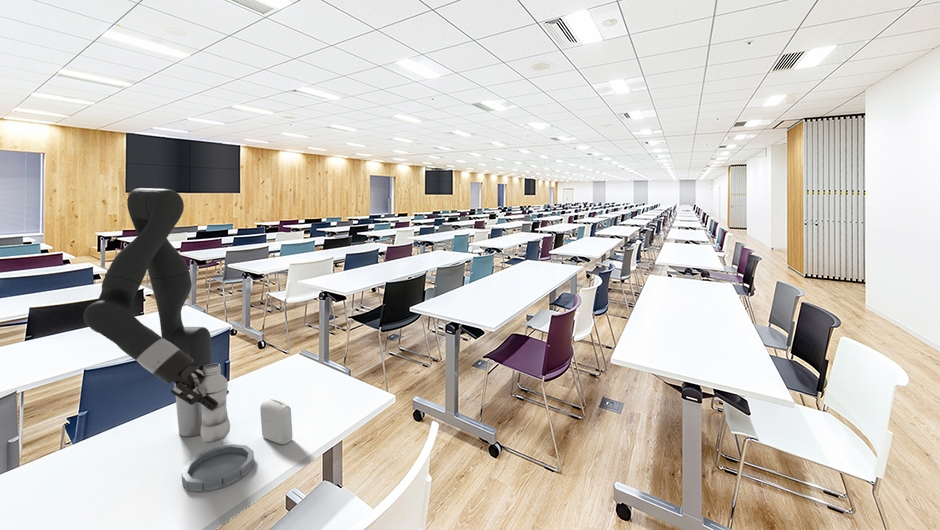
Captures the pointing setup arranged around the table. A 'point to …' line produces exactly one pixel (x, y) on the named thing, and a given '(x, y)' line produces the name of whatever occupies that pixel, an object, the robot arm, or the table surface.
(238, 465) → the round tray
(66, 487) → the table surface
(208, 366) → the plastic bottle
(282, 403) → the photo printer
